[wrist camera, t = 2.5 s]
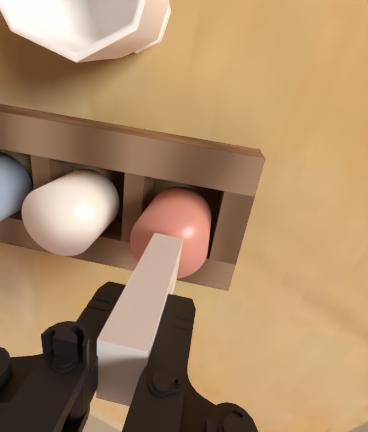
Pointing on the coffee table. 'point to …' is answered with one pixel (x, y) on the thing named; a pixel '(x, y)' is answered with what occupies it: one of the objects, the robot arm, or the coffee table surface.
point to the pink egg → (176, 226)
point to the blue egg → (12, 185)
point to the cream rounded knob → (70, 211)
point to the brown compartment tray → (136, 181)
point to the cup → (89, 25)
